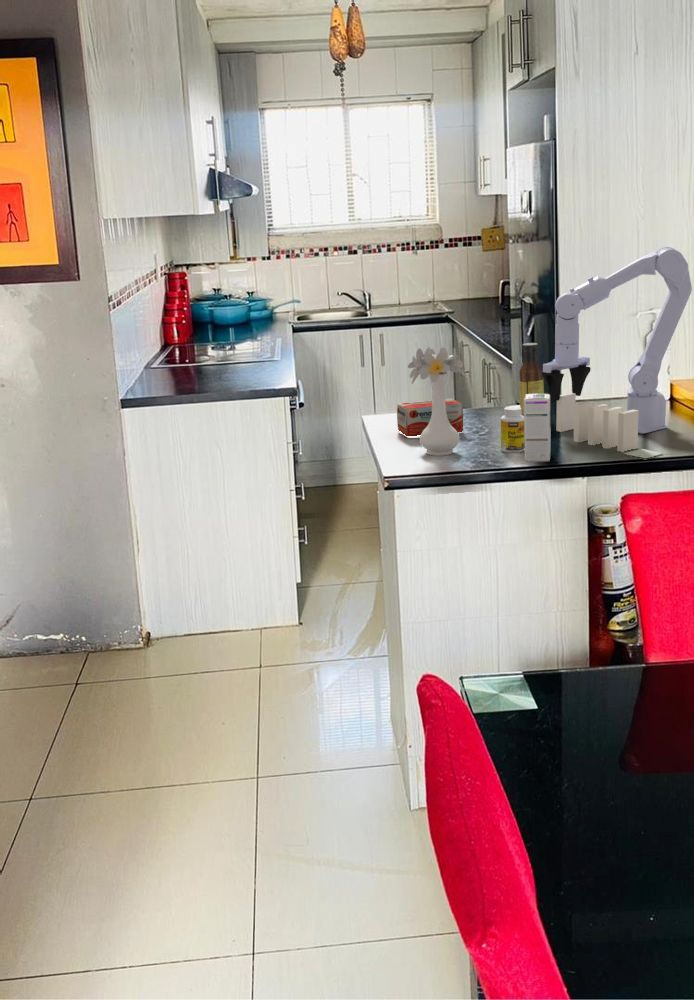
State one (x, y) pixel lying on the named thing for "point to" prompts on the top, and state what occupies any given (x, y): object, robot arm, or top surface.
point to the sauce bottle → (530, 373)
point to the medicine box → (426, 416)
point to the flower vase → (437, 398)
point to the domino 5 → (627, 430)
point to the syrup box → (537, 427)
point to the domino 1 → (565, 412)
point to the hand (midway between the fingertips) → (565, 397)
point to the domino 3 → (595, 424)
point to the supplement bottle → (512, 430)
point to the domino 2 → (581, 421)
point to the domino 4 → (610, 427)
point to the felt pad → (643, 453)
